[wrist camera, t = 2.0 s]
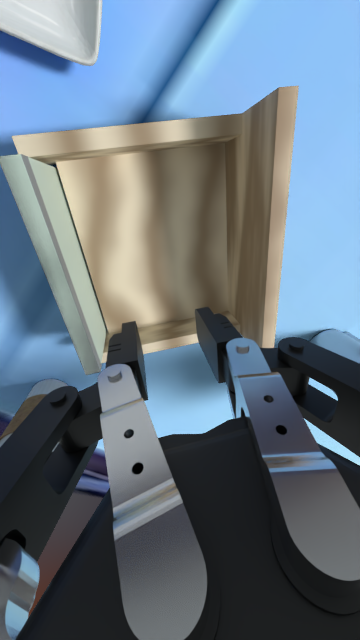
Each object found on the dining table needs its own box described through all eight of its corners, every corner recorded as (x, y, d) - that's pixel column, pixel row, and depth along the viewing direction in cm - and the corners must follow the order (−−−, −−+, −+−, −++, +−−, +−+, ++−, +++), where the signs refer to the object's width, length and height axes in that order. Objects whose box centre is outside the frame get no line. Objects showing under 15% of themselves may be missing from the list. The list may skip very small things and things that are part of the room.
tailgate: (57, 168, 25) (21, 154, 17) (107, 328, 35) (100, 371, 26) (41, 170, 25) (-3, 156, 17) (96, 330, 35) (86, 375, 26)
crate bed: (232, 127, 27) (298, 85, 17) (233, 313, 39) (273, 356, 28) (36, 148, 25) (-31, 114, 14) (100, 339, 36) (89, 398, 26)
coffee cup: (49, 418, 41) (13, 521, 28) (10, 389, 37) (-54, 494, 24) (90, 395, 41) (73, 489, 28) (54, 363, 37) (14, 456, 24)
